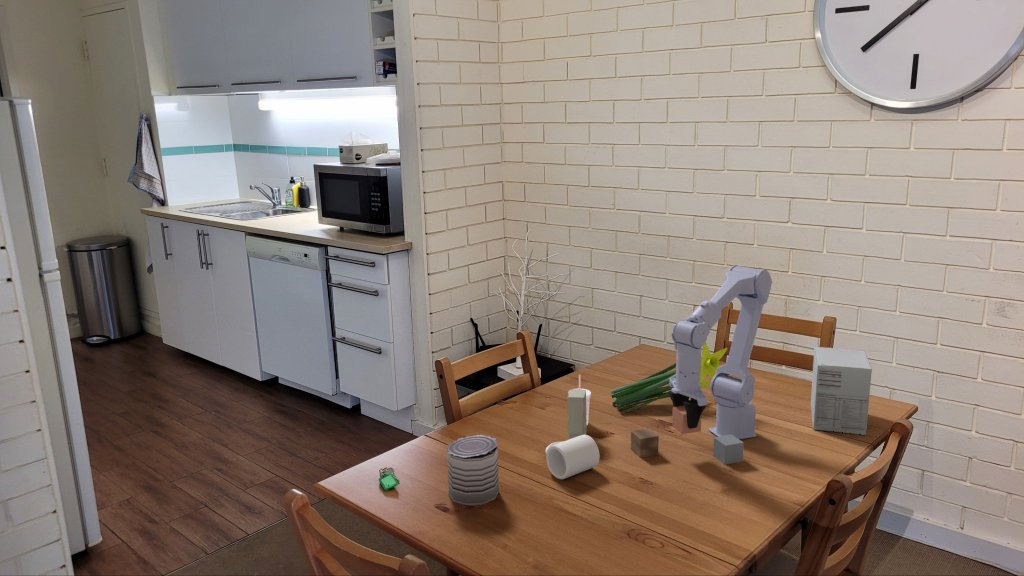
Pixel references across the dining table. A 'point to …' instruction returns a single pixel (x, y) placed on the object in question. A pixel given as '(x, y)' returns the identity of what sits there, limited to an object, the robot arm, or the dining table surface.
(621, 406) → the daffodil flowers
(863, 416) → the supplement box
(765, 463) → the dining table surface
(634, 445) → the walnut block
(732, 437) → the slate grey block
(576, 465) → the mug
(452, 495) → the can
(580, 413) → the skincare box
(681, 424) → the terracotta block
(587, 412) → the beverage cup
